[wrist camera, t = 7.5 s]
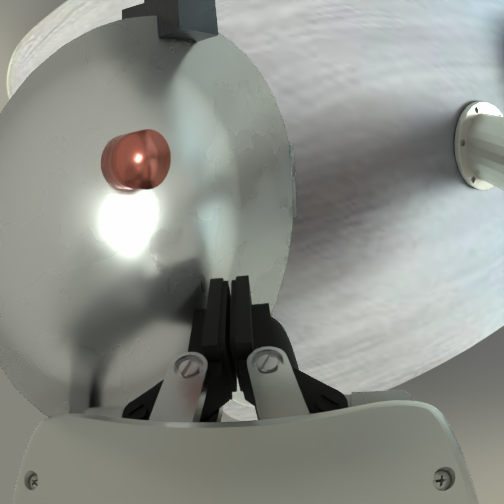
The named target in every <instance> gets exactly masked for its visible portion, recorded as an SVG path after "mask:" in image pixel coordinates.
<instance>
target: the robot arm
mask: <svg viewBox="0 0 504 504" xmlns="http://www.w3.org/2000/svg"><path fill="white" fill-rule="evenodd" d="M454 144H455V156H456V162H457V165H458V168H459V171H460V173H461V175H462V177H463V178H464V180H465V181H466V182H467V183H468V184H469V185H470V186H472V187H474V188H476V189H478V190H489V189H491V188H493V187H495V186H496V187H498V188H499V189H501V190H503V191H504V117H503V115H502V114H501V112H500V111H499V110H498V109H497V108H496V107H495V106H494V105H492V104H490V103H488V102H483V101H476V102H473V103H471V104H470V105H468V106H467V107H466V108H465V109H464V111H463V112H462V114H461V116H460V118H459V120H458V123H457V127H456V132H455V143H454ZM237 379H238V383H239V387H240V391H241V392H242V391H243V393H244V398H245V400H246V401H248V402H249V403H251V404H252V405H253V406H255V410H256V414H257V418H258V420H254V421H238V422H221V418H222V413H223V405H224V404H225V403H227V402H228V401H229V399H232V392H237ZM12 504H479V503H478V499H477V495H476V491H475V488H474V484H473V482H472V478H471V475H470V472H469V469H468V466H467V463H466V460H465V457H464V455H463V452H462V450H461V447H460V445H459V443H458V440H457V438H456V436H455V434H454V432H453V430H452V428H451V426H450V425H449V423H448V421H447V420H446V418H445V417H444V416H443V414H442V413H441V412H440V411H439V410H438V409H436V408H435V407H434V406H432V405H430V404H427V403H423V402H418V401H414V399H413V397H412V396H411V395H410V394H409V393H407V392H405V391H401V390H393V391H374V392H352V393H351V395H343V394H342V393H341V392H339V391H338V390H336V389H334V388H332V387H330V386H328V385H326V384H324V383H322V382H320V381H318V380H316V379H314V378H312V377H311V376H309V375H307V374H305V373H303V372H301V371H299V370H298V369H296V368H294V367H292V366H291V365H290V362H289V360H288V357H287V355H286V354H285V352H284V351H282V350H281V349H279V348H276V347H275V343H274V336H273V329H272V322H271V315H270V308H269V303H262V304H252V299H251V291H250V283H249V276H248V275H245V276H236V280H231V293H230V288H229V282H228V281H224V279H223V278H215V279H210V284H209V291H208V298H207V305H206V309H196V310H195V312H194V317H193V323H192V329H191V334H190V340H189V346H188V352H186V353H182V354H180V355H178V356H176V357H175V358H174V359H173V360H172V362H171V364H170V366H169V368H168V371H167V373H166V376H165V378H164V380H162V381H161V382H159V383H158V384H156V385H155V386H154V387H152V388H151V389H149V390H148V391H146V392H145V393H143V394H142V395H140V396H139V397H137V398H136V399H134V400H133V401H131V402H130V403H129V404H128V405H127V406H126V407H122V406H121V405H117V406H107V407H96V408H88V409H87V410H86V411H85V412H84V413H83V414H79V413H72V414H61V415H56V416H52V417H49V418H47V419H45V420H43V421H42V422H40V424H39V425H38V426H37V427H36V429H35V430H34V432H33V434H32V436H31V439H30V441H29V443H28V446H27V448H26V451H25V454H24V457H23V460H22V463H21V466H20V470H19V474H18V478H17V482H16V487H15V491H14V496H13V501H12Z"/></svg>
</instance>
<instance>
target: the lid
mask: <svg viewBox="0 0 504 504" xmlns="http://www.w3.org/2000/svg"><path fill="white" fill-rule="evenodd" d="M144 2H145V16H142V17H134V18H126V19H122V20H119V21H116V22H112V23H109V24H106V25H103V26H100V27H97V28H95V29H93V30H91V31H89V32H87V33H85V34H83V35H81V36H79V37H78V38H76V39H74V40H72V41H71V42H69V43H67V44H65V45H64V46H62V47H61V48H60V49H59V50H57V51H56V52H55V53H54V54H52V55H51V56H50V57H49V58H48V59H46V60H45V61H44V62H43V63H42V64H41V65H40V66H38V67H37V68H36V69H35V70H34V71H33V72H32V73H31V74H30V75H29V76H28V77H27V79H26V80H25V81H24V82H23V83H22V85H21V86H20V87H19V88H18V90H17V91H16V92H15V94H14V95H13V96H12V97H11V99H10V100H9V102H8V103H7V104H6V106H5V107H4V108H3V110H2V111H1V113H0V367H1V369H2V370H3V372H4V373H5V375H6V376H7V377H8V378H9V380H10V381H11V383H12V384H13V386H14V387H15V388H16V389H17V390H18V391H19V392H20V393H21V394H22V395H23V396H24V397H25V398H26V399H27V400H28V401H29V402H30V403H31V404H32V405H33V406H35V407H36V408H37V409H38V410H39V411H40V412H42V413H43V414H45V415H46V416H48V417H52V416H56V415H61V414H72V413H79V414H83V413H84V412H85V411H86V410H87V409H88V408H96V407H107V406H117V405H121V406H122V407H126V406H127V405H128V404H129V403H130V402H131V401H133V400H134V399H136V398H137V397H139V396H140V395H142V394H143V393H145V392H146V391H148V390H149V389H151V388H152V387H154V386H155V385H156V384H158V383H159V382H161V381H162V380H164V378H165V376H166V373H167V371H168V368H169V366H170V364H171V362H172V360H173V359H174V358H175V357H176V356H178V355H180V354H182V353H186V352H188V346H189V340H190V334H191V329H192V323H193V317H194V312H195V310H196V309H206V305H207V298H208V291H209V284H210V279H215V278H223V279H224V281H228V282H229V288H230V293H231V280H236V276H245V275H248V276H249V283H250V291H251V299H252V304H262V303H269V308H270V315H271V314H272V311H273V308H274V306H275V303H276V300H277V297H278V294H279V291H280V288H281V285H282V281H283V277H284V273H285V269H286V264H287V259H288V254H289V249H290V242H291V235H292V225H293V219H295V218H296V217H297V197H296V176H295V158H294V144H293V143H289V142H288V138H287V133H286V129H285V126H284V123H283V119H282V116H281V113H280V111H279V108H278V106H277V103H276V101H275V98H274V96H273V94H272V92H271V90H270V88H269V86H268V84H267V83H266V81H265V79H264V78H263V76H262V75H261V73H260V72H259V70H258V69H257V67H256V66H255V65H254V64H253V63H252V61H251V60H250V59H249V58H248V57H247V55H246V54H245V53H244V52H242V51H241V50H240V49H239V48H238V47H237V46H236V45H235V44H234V43H233V42H231V41H230V40H228V39H227V38H225V37H224V36H223V35H221V34H220V33H218V27H217V17H216V7H215V0H144Z"/></svg>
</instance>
